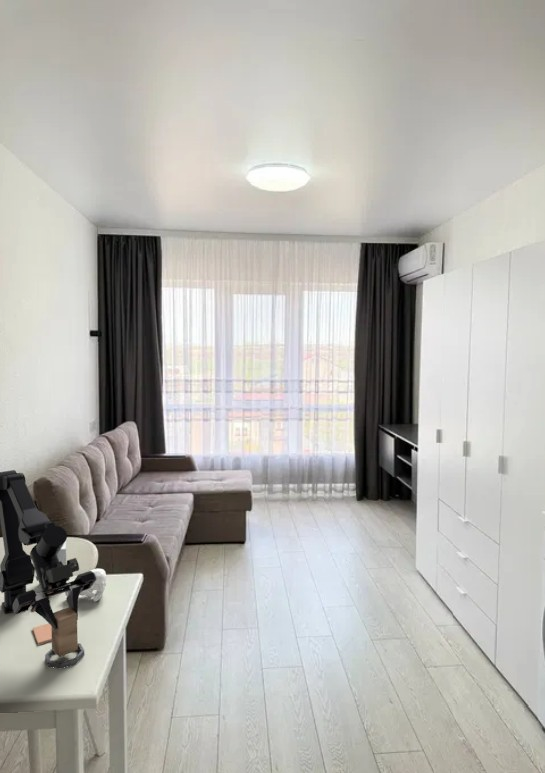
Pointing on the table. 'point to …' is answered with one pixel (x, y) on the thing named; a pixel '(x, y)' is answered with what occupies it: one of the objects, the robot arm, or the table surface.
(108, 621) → the table surface
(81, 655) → the metal ring
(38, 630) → the terracotta mat
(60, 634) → the walnut block
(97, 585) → the white lumpy piece
